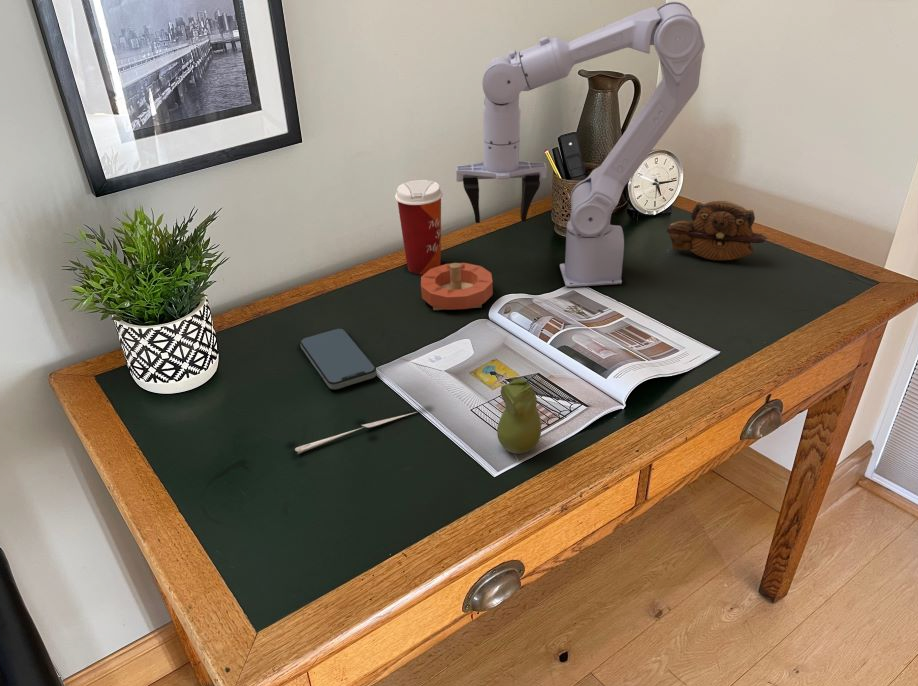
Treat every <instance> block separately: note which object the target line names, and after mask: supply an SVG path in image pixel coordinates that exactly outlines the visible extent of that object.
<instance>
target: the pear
mask: <svg viewBox="0 0 918 686" xmlns="http://www.w3.org/2000/svg"><path fill="white" fill-rule="evenodd" d="M500 396H501V398H502V401H503V402H504V405H505V408H504V410H503V412H502V413H501V416H500V418H499V421H498V424H497V429H496V435H497V439H498V442H499V444H500V445H501V446H502V448H504V449H505V451H507V452H510V453H511V454H518V455H521V454H526V453H528V452H530V451H532V450H533V449H535V447H536V446H537V445H538V443H539V442H540V439H541V435H542V421H541V416H540V411H539V408H537V404H538V397H537V394H536V391H534V389H533V388H532V385H531V383H530V381H526V380H525V379H521V378H515V379H513V380H512V381H510V382H507V383H505V384H503V385H501V388H500Z"/></svg>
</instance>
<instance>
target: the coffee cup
mask: <svg viewBox="0 0 918 686" xmlns="http://www.w3.org/2000/svg"><path fill="white" fill-rule="evenodd" d="M443 196H444V192H443V191H442V189H441V186H440V184H439V183H438V182H436V181H433V180H428V179H415V180H414V179H413V180H410V181H406V182H403V183H400V185H399V186H397V188H396V193H395V195H394V198H395V200H396V201H397V207H398V214H399V220H400V228H401V234H402V241H403V247H404V253H405V254H404V255H405V260H406V265H407V270H408V271H409V272H410V273H412V274H414V275H415V274H416V275H424V274H425V273H426V272H428V271H429V270H430V269H432V268H435V267H438V266H441V261H442V260H441V259H442V198H443Z"/></svg>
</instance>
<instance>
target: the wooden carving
mask: <svg viewBox="0 0 918 686" xmlns="http://www.w3.org/2000/svg"><path fill="white" fill-rule="evenodd" d="M690 217H691V220H692V221H688V220H678V221H676V222H672V223H670V224H669V226H668V227H667V230H666V233H667V234H669V239H670V240H671V247H672V248H671V249H673V250H676V251H685V250H689V251H691V252H692V253H693V254H694V255H696V256H698V257H700V258H704V259H706V260H711V261H733V260H737V259H741V258H745V257H747V256H749V255H751V254H754V252H755V250H756V248H755V247H754V246H753V244H761V243H762V244H763V243H764V242H765V241H766V240H767V239H768V237H767V236H766V235H765V234H763V233H759V232H754V231H753V228H752V227H753V225H754V223H755V220H756V218H755V212H754V210H753V209H749V210H747V209H746V208H745V207H743V206H742V205H739V204H736V203H734V202H731V201H728V200H727V201H726V200H713V201H708V202H705V203H702V202H701V201H698V202H697V203H696V205H695V206H694V208H693V209H692V212H691V215H690Z"/></svg>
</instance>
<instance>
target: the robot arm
mask: <svg viewBox="0 0 918 686" xmlns="http://www.w3.org/2000/svg"><path fill="white" fill-rule="evenodd" d="M651 46H654V50H655V51H656V52H655V53H657V56H658V59H659V65H660V71H661V81H660V82H659V83H658V84H657V86H656V88H654V90H653V92H652V93H651V94H650V96H649V97H648V99H647V100H646V101H645V103H644V104H643V106H642V107H641V108H640V110H639V111H638V112H637V114H636V116H634V118H633V120H632V121H631V122H630V124H629V125H628V126H627V127H626V130H625V131H624V132H623V134H622V135H621V136H620V137H619V139H618V141H617V142H616V143H615V145H614V146H613V147H612V149H611V150H610V152H609V153H608V155H607V156H606V158H605V159H603V162H601V164H600V165H599V166H598V167H596V168H594V169H593V170H592V171H591V172H590V174H589V175H588V176H587V177H586V178H585V179H583V180H582V181H580V182H578V183H576V185H574V187H573V189H572V190H571V192H570V195H569V203H570V207H571V208H570V220H568V222H566V232H565V233H566V234H565V253H564V255H565V258H564V260H565V261H564V263H560V264H559V269H560V273H561V276H562V279H563V282H564V285H565V287H567V288H573V287H574V288H576V287H591V286H593V287H594V286H607V285H608V286H610V285H611V286H613V285H621V284H622V283H623V280H622V274H623V262H624V254H625V253H624V252H625V235H624V231H623V227H622V226H621V225H615V224H611V220H612V219H611V218H612V215H613V212H614V210H615V209H616V207H617V206H618V204H619V202H620V199H621V196H622V195H623V194H622V193H623V191H624V189H625V187H626V185H627V184H628V182H629V181H630V180H631V179H632V177H633V176H634V174H635V173H636V172H637V171H638V169H639V168H640V167H641V165H642V164H643V162H644V161H645V160H646V159H647V157H648V156H649V154H651V152H652V151H653V150H654V148H655V146H656V145H658V143H659V141H660V140H661V139H662V137H663V136H664V135H665V133H666V132H667V131H668V129H669V128H670V127H671V125H672V124H673V123H674V121H675V120H676V119H677V117H678V116H679V115H680V113H681V112H682V111H683V110H684V108H685V106H687V104H688V103H689V101H690V100H691V99H692V97H693V96H694V94H695V93H696V92H697V89H698V88H699V86H700V85H699V84H700V78H701V69H702V62H703V61H702V60H703V54H704V52H705V51H704V50H705V47H706V43H705V40H704V36H703V32H702V28H701V25H700V23H699V21H698V20H697V19H696V18H695V17H694V16H693V13H692V11H691V10H690V8H689V7H688V6H687V5H686V4H684V3H683V2H680V1H668V2H665V3H663V4H661V5H660V6H658V7H656V6H652V7H648V8H645V9H642V10H640V11H638V12H637V11H636V12H635V13H632V14H630V15H628V16H626V17H624V18H623V17H622V18H621V19H619V20H616V21H613V22H611V23H609V24H607V25H605V26H603V27H600V28H598V29H595V30H593V31H591V32H589V33H586V34H584V35H582V36H579V37H577V38H575V39H573V40H570V41H566V40H564V39H561V37H560V38H559V37H552V38H551V39H550V37H549V35H545V36H543V37H541V38H539V43H537V44H535V45H533V46H530V47H528V48H525V49H522V50H520V51H517V50H516V49H513V50H510V51H508V56H506V55H501V56H497V57H495V58H493V59H492V60H491V61H490V62H489V63H488V64H487V65H486V67H485V70H484V74H483V77H482V82H481V84H482V91H483V93H484V98H483V105H484V109H483V117H482V118H483V119H482V120H483V121H482V123H483V125H482V126H483V129H482V131H483V133H482V134H483V135H482V136H483V139H482V140H483V146H482V147H483V149H482V150H483V155H482V156H483V160H482V161H483V162H476V163H471V164H464V165H455V178H456V179H455V180H456V182H457V183H458V182H461V183H463V184H462V186H463V190H464V191H465V193H466V196H467V197H468V199H469V202H470V204H471V207H472V210H473V214H474V223H475V224H480V223H481V216H480V186H479V185H480V183H479V180H494V179H495V180H509V179H521V203H520V220H521V222H526V221H527V216H528V212H529V210H530V207H531V204H532V202H533V200H534V197H535V195H536V194H537V192H538V191H539V189H540V186H541V180H540V179H547V171H548V165H547V164H546V162H532V161H521V160H520V144H521V143H520V141H521V140H520V139H521V108H520V94H521V92H529V91H532V90H535V89H538V88H540V87H543V86H545V85H548V84H551V83H554V82H557V81H559V80H561V79H564V78H567V77H568V76H569V75H570V73H571V71H572V69H573V67H574V66H576V65H577V64H581V63H584V62H587V61H590V60H593V59H596V58H599V57H602V56H605V55H609V54H612V53H615V52H618V51H621V50H624V49H627V48H629V49H632V50H636V51H638V52H641V53H645V54H648V55H649V54H650V53H651Z"/></svg>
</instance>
